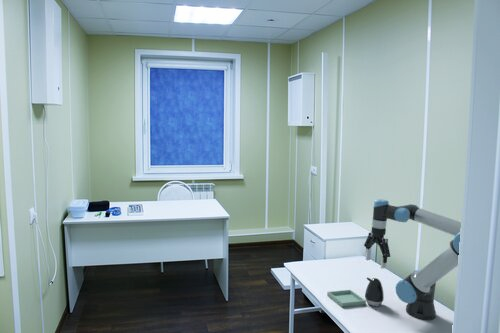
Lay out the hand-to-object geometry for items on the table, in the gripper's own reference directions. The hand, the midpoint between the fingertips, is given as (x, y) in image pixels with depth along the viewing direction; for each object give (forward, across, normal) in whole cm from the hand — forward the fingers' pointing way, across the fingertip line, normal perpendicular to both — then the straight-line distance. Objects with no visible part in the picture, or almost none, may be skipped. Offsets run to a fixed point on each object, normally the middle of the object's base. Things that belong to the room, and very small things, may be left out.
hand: (375, 264), depth 227 cm
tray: (+24, +8, +12) cm, 28 cm away
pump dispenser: (+24, 0, -1) cm, 24 cm away
